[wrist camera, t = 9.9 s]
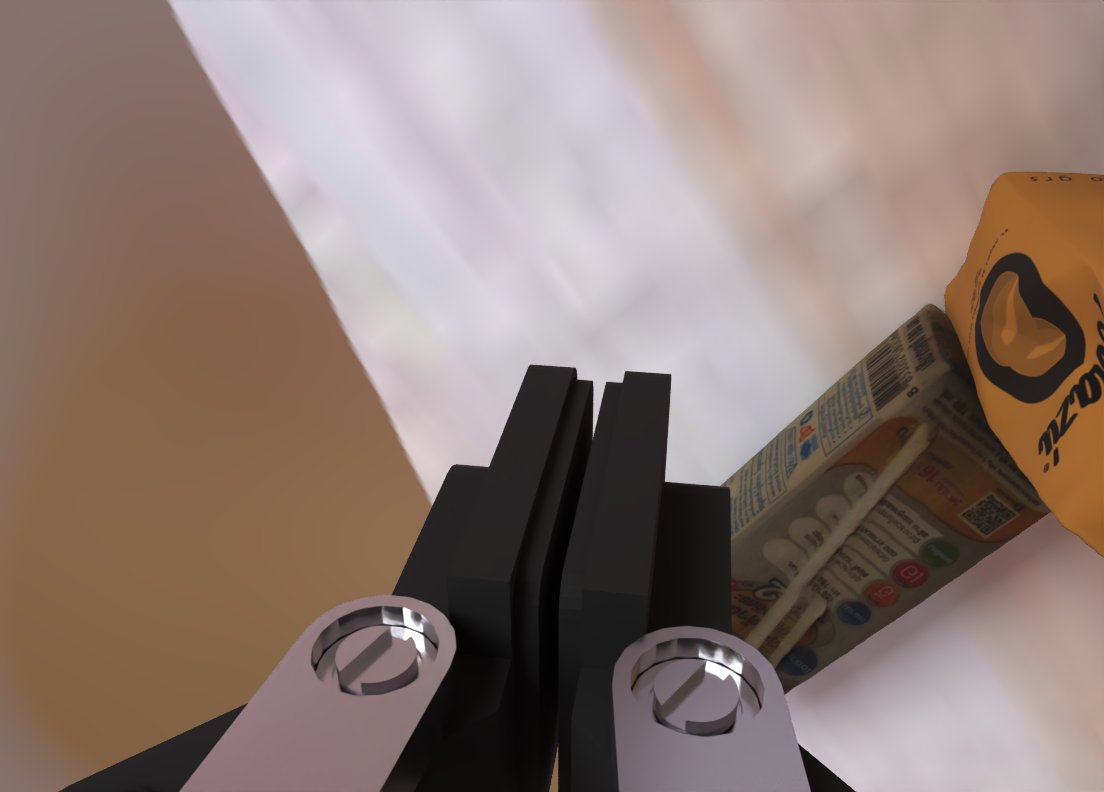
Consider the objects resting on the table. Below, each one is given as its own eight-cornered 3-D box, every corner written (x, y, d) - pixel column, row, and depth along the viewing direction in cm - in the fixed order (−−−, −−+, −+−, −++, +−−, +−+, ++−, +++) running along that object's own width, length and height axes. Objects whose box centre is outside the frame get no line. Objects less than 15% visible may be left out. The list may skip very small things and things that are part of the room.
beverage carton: (628, 554, 49) (614, 645, 43) (926, 286, 40) (959, 356, 34) (746, 640, 50) (748, 740, 44) (1059, 401, 41) (1112, 487, 35)
